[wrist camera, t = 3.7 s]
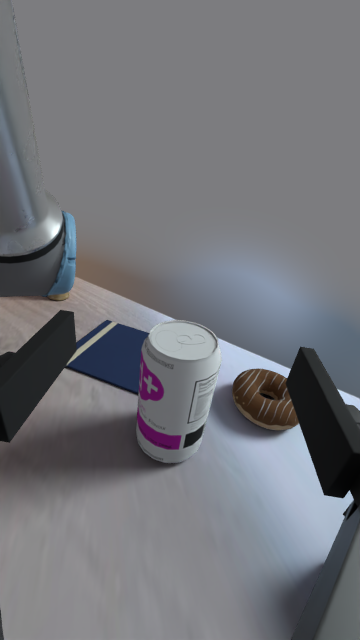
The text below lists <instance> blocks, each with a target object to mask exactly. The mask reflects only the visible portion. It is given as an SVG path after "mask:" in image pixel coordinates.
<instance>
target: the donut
mask: <svg viewBox="0 0 360 640" xmlns="http://www.w3.org/2000/svg"><path fill="white" fill-rule="evenodd" d="M286 381H287V378H285V377H284V376H282V375H280V374H278V373H276V372H273V371H269V370H265V369H251V370H247V371H244V372H242V373H241V374H240V375H238V377H237V378H236V379H235V380H234V383H233V388H232V395H233V399H234V402H235V404H236V406H237V408H238V409H239V411H240V412H241V413H242V414H243V415H244V416H245V417H246V418H247V419H248V420H250V421H251V422H253V423H255V424H257V425H258V426H261V427H264V428H267V429H271V430H287V429H290V428H293V427H295V426H296V425H298V424H299V421H298V418H297V415H296V412H295V410H294V407H293V404H292V401H291V398H290V395H289V392H288V389H287V387H286V384H285V383H286ZM259 393H263V394H267V395H269V396H271V397H273V398H274V399H275V400H270V399H267V398H264V397H262V396H261V395H260V394H259Z"/></svg>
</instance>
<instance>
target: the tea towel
mask: <svg viewBox="0 0 360 640" xmlns="http://www.w3.org/2000/svg"><path fill="white" fill-rule="evenodd" d="M149 334H150V333H147V332H144V331H141V330H137V329H134V328H131V327H128V326H125V325H122V324H118V323H116V322H112V321H109V320H106V321H105V322H103V323H102V324H101V325H99V326H98V327H97V328H95V329H94V330H93V331H91V332H90V333H89V334H87V335H86V336H85V337H83V338H82V339H81V340H79V341H78V342H77V343H76V347H77V351H76V352H75V354H74V355H73V356H72V358H71V359H70V360H69V362H68V363H67V365H66V366H65V367H68V368H71V369H73V370H76V371H79V372H81V373H84V374H86V375H89V376H92V377H94V378H97V379H99V380H102V381H105V382H107V383H110V384H113V385H115V386H118V387H120V388H123V389H126V390H128V391H131V392H133V393H136V394H139V380H140V364H141V349H142V346H143V343H144V340H145V339H146V338H147V336H148V335H149Z"/></svg>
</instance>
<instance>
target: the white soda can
mask: <svg viewBox="0 0 360 640" xmlns="http://www.w3.org/2000/svg"><path fill="white" fill-rule="evenodd" d="M221 361H222V358H221V351H220V348H219V345H218V339H217V337H216V336H215V335H214V333H213V332H212V331H210V330H209V329H208V328H206V327H204V326H202V325H200V324H197V323H194V322H189V321H182V320H181V321H180V320H172V321H165V322H162V323H160V324H157V325H156V326H155V327H153V328H152V329H151V331H150V334H149V335H148V336H147V338H146V339H145V340H144V343H143V346H142V349H141V364H140V380H139V396H138V412H137V427H136V434H137V440H138V443H139V445H140V447H141V448H142V450H143V451H144V452H145V453H146V454H147V455H149V456H150V457H151V458H153V459H155V460H158V461H161V462H164V463H179V462H181V461H184V460H186V459H189V458H190V457H191V456H192V455H193V454H195V453H196V452H197V451H198V448H199V446H200V444H201V442H202V438H203V433H204V429H205V425H206V421H207V417H208V413H209V409H210V405H211V401H212V397H213V393H214V389H215V385H216V381H217V377H218V373H219V369H220V365H221Z"/></svg>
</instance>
